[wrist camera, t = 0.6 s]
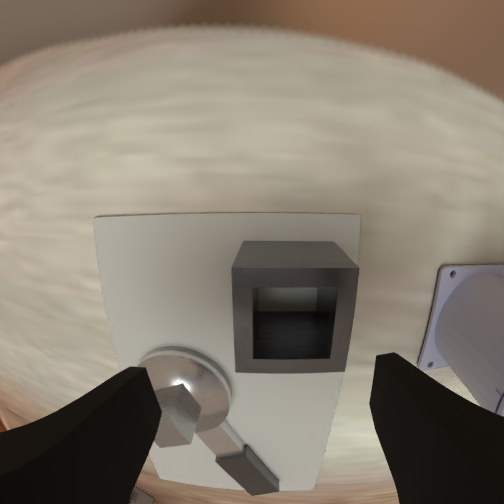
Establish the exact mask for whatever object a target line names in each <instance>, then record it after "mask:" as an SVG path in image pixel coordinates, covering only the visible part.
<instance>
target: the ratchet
mask: <svg viewBox="0 0 504 504" xmlns="http://www.w3.org/2000/svg"><path fill="white" fill-rule="evenodd" d="M137 367H146V369H147V372H148V375H149V378H150V381H151V384H152V386H153V389H154V392H155V395H156V397H157V400H158V402H159V405H160V408H161V410H162V415H161V419H160V423H159V427H158V431H157V434H156V437H155V440H154V442H155V443H156V444H157V445H158V446H159V447H160V448H165V447H174V446H181V445H189V444H191V442H192V439H193V435H194V432H195V433H196V435H197V436H198V437H199V438H200V439H201V440H202V441H203V442H204V443H205V445H206V446H207V447H208V448H209V449H210V450H211V451H212V452H213V453H214V454H215V455H216V459H215V462H216V463H217V464H218V465H219V466H220V467H221V468H222V469H223V470H224V471H225V472H226V473H227V474H229V475H230V476H231V477H232V478H233V479H234V480H235V481H236V482H237V483H238V484H239V485H240V486H242V487H243V488H244V489H245V490H246V491H247V492H248V493H249V494H251V495H252V496H254V495H260V494H267V493H272V492H278V491H279V479H278V478H277V477H276V476H275V475H274V474H273V473H272V472H271V471H270V470H269V468H268V467H267V466H266V465H265V464H264V463H263V462H262V461H261V459H260V458H259V457H258V456H257V455H256V454H255V453H254V451H253V450H252V449H251V448H250V447H249V445H248V444H244V443H243V441H242V440H241V439H240V438H239V437H238V435H237V434H236V433H235V432H234V430H233V429H232V428H231V427H230V425H229V424H228V423H227V422H226V420H225V419H226V417H227V415H228V412H229V408H230V402H231V397H232V388H231V383H230V381H229V378H228V377H227V375H226V373H225V372H224V371H223V369H222V368H221V367H220V366H219V365H218V364H217V363H215V362H214V361H213V360H212V359H210V358H209V357H207V356H205V355H204V354H202V353H200V352H197V351H195V350H192V349H189V348H184V347H178V346H165V347H160V348H156V349H154V350H152V351H150V352H149V353H147V354H146V355H145V356H144V357H143V359H142V360H141V361H140V363H139V364H138V366H137Z"/></svg>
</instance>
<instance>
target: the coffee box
mask: <svg viewBox="0 0 504 504" xmlns="http://www.w3.org/2000/svg"><path fill="white" fill-rule="evenodd" d="M153 501H154V498H153V497H151V496H149V495H148V494H146V493H144V492H143V491H141V490H139V489H138V488H136V487H135V486H134V489H133V491H132V494H131V497H130V501H129V504H153Z"/></svg>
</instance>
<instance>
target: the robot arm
mask: <svg viewBox="0 0 504 504" xmlns="http://www.w3.org/2000/svg"><path fill="white" fill-rule="evenodd" d="M452 271H453V274H452V275H451V276H450V273H451V272H452ZM430 362H431V363H430ZM429 363H430V364H429ZM446 366H450V367H451V369H452V370H453V371H454V372H455V374H456V375H457V376H458V377H459V379H460V380H461V381H462V383H463V384H464V385H465V386H466V388H467V389H468V390H469V392H470V393H471V394H472V396H473V397H474V398H475V400H476V401H477V402H478V404H479V405H480V406H481V407H480V406H478V405H476V404H474V403H472V402H470V401H468V400H467V399H465V398H463V397H461V396H460V395H458V394H456V393H454V392H453V391H451V390H449V389H448V388H446V387H445V386H443V385H441V384H440V383H438V382H437V381H435V380H434V379H432V378H431V377H430V376H428V375H427V374H425V373H424V372H422V371H421V370H429V369H435V368H440V367H446ZM418 368H419V369H418ZM418 368H417V367H415V366H414V365H412V364H411V363H410V362H408V361H407V360H405V359H404V358H402V357H401V356H400V355H398V354H396V353H395V352H393V353H388V354H382V355H376V362H375V370H374V377H373V384H372V391H371V397H370V403H369V404H370V409H371V413H372V418H373V422H374V426H375V430H376V433H377V435H378V438H379V441H380V444H381V446H382V449H383V452H384V454H385V457H386V460H387V463H388V465H389V468H390V471H391V474H392V476H393V479H394V482H395V486H396V489H397V493H398V498H399V503H400V504H504V264H497V265H446V266H443V267H442V268H441V269H440V271H439V276H438V282H437V288H436V293H435V298H434V303H433V308H432V312H431V317H430V321H429V325H428V329H427V333H426V337H425V341H424V344H423V348H422V351H421V355H420V358H419V362H418ZM161 415H162V410H161V408H160V405H159V402H158V400H157V397H156V395H155V392H154V389H153V386H152V384H151V381H150V378H149V375H148V372H147V369H146V367H133V366H130V367H128V368H126V369H124V370H122V371H121V372H119V373H118V374H116V375H114V376H113V377H111V378H110V379H108V380H107V381H105V382H104V383H102V384H101V385H99V386H97V387H96V388H94V389H93V390H91V391H90V392H88V393H87V394H85V395H83V396H82V397H80V398H79V399H77V400H75V401H73V402H72V403H70V404H68V405H66V406H65V407H63V408H61V409H59V410H58V411H56V412H54V413H52V414H50V415H48V416H46V417H44V418H41V419H39V420H37V421H34V422H32V423H29V424H27V425H24V426H21V427H17V428H14V429H11V430H8V431H5V432H1V433H0V504H129V501H130V497H131V494H132V491H133V489H134V486H135V484H136V481H137V479H138V477H139V474H140V472H141V470H142V467H143V465H144V463H145V461H146V458H147V456H148V454H149V451H150V449H151V447H152V444H153V442H154V440H155V437H156V434H157V431H158V427H159V423H160V419H161Z"/></svg>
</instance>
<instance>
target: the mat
mask: <svg viewBox="0 0 504 504" xmlns="http://www.w3.org/2000/svg"><path fill="white" fill-rule="evenodd" d="M360 225H361V215H359V214H339V213H287V212H226V213H174V214H144V215H121V216H101V217H94V218H93V227H94V238H95V247H96V255H97V262H98V269H99V276H100V282H101V288H102V294H103V300H104V305H105V310H106V315H107V320H108V324H109V329H110V333H111V337H112V342H113V346H114V350H115V354H116V357H117V361H118V365H119V368H120V372H121V371H122V370H124V369H126V368H128V367H130V366H133V367H137V366H138V364H139V363H140V361H141V360H142V359H143V357H144V356H145V355H146V354H147V353H149V352H150V351H152V350H154V349H156V348H160V347H165V346H178V347H184V348H189V349H192V350H195V351H197V352H200V353H202V354H204V355H205V356H207V357H209V358H210V359H212V360H213V361H214V362H215V363H217V364H218V365H219V366H220V367H221V368H222V369H223V371H224V372H225V373H226V375H227V377H228V378H229V381H230V383H231V388H232V397H231V402H230V408H229V412H228V415H227V417H226V419H225V420H226V422H227V423H228V424H229V425H230V427H231V428H232V429H233V430H234V432H235V433H236V434H237V435H238V437H239V438H240V439H241V440H242V441H243V443H244V444H248V445H249V447H250V448H251V449H252V450H253V451H254V453H255V454H256V455H257V456H258V457H259V458H260V459H261V461H262V462H263V463H264V464H265V465H266V466H267V467H268V468H269V470H270V471H271V472H272V473H273V474H274V475H275V476H276V477H277V478H278V479H279V491H295V490H313V489H314V486H315V482H316V479H317V476H318V473H319V469H320V466H321V463H322V459H323V456H324V452H325V448H326V445H327V441H328V437H329V433H330V429H331V425H332V421H333V417H334V413H335V408H336V404H337V399H338V395H339V390H340V385H341V380H342V375H343V372H330V373H299V374H266V373H235V354H234V331H233V305H232V275H231V267H232V265H233V262H234V260H235V258H236V256H237V254H238V251H239V249H240V247H241V245H242V242H243V241H334V242H335V243H336V244H337V245H338V246H339V247H340V248H341V249H342V250H343V251H344V252H345V253H346V254H347V256H348V257H349V258H350V259H351V260H352V261H353V262H354V263H355V264H356V265H357V266H358V255H359V242H360ZM316 301H317V288H274V287H258V311H316ZM149 454H150V457H151V459H152V461H153V464H154V466H155V468H156V470H157V473H158V475H159V477H160V479H164V480H169V481H175V482H180V483H186V484H192V485H199V486H207V487H215V488H225V489H237V490H245V489H244V488H243V487H242V486H240V485H239V484H238V483H237V482H236V481H235V480H234V479H233V478H232V477H231V476H230V475H229V474H227V473H226V472H225V471H224V470H223V469H222V468H221V467H220V466H219V465H218V464H217V463H216V462H215V459H216V455H215V454H214V453H213V452H212V451H211V450H210V449H209V448H208V447H207V446H206V445H205V443H204V442H203V441H202V440H201V439H200V438H199V437H198V436H197V435H196V433H195V432H194V435H193V439H192V442H191V444H189V445H181V446H174V447H165V448H160V447H159V446H158V445H157V444H156V443H155V442H153V444H152V447H151V449H150V451H149Z"/></svg>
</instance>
